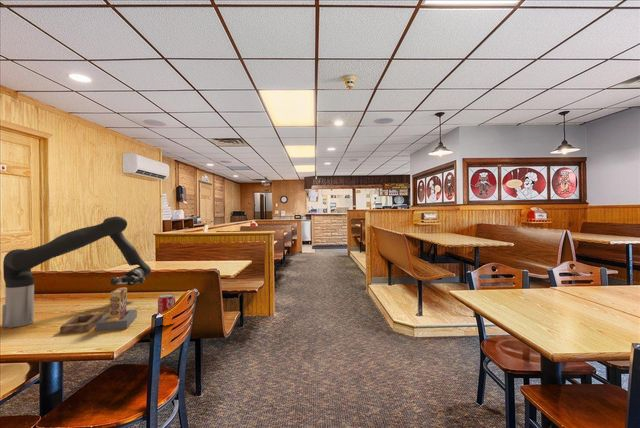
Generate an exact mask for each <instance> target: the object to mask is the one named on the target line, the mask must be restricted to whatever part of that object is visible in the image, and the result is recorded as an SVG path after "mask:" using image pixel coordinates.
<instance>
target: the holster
mask: <svg viewBox="0 0 640 428" xmlns="http://www.w3.org/2000/svg"><path fill="white" fill-rule="evenodd" d="M102 317H103V313H93V314H92V313H91V314H78V315H75V316H74V317H72V318H70V319H69V320H68V321H66V322H65V323H64V324H62V325H60V327H59V334H60V335H63V334H76V333H87V332H88V333H89V332H90V331H92V329H93V328H94V327H96V323H97V322H98V321H99V320H100V319H101V318H102Z"/></svg>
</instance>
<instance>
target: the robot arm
mask: <svg viewBox="0 0 640 428" xmlns="http://www.w3.org/2000/svg"><path fill="white" fill-rule="evenodd" d="M127 226H128V221H127V219H125V218H124V217H122V216H117V215H116V216H110V217H107V218H105V219H104V220H103V221H102V222H101V223H99V224H96V225H91V226H90V225H89V226H86V227H81V228H77V229H75V230H71V231H69V232H66V233H65V232H64V234H61V235H59V236H57V237H55V238H53V239H52V240H50V241H49V242H47V243H44V244H41V245H40V246H35V247H31V248H28V249H21V248H16V249H11V250H10V251H8V252H7V253H6V254H5V255H4V258H3V263H2V270H3V271H2V272H3V281H4V283H5V286H4V287H5V289H4V291H5V292H4V294H5V296H4V297H5V298H4V300H5V301H4V304H3V305H2V309H1V310H2V311H1V312H2V313H1V328H10V329H11V328H18V327H23V326H27V325H31V324H33V323H34V321H35V320H34V318H35V314H34V313H35V312H34V311H35V310H34V309H35V278H34V276H33V275H32V269H33V268H35V267H38V266H39V265H41V264H43V263H45V262H47V261H50V260H51V259H52V260H53V259H55V258H56V257H57V258H58V257H59V256H63V255H66V254H68V253H70V252H73V251H76V250H78V249H82V248H84V247H86V246H88V245H90V244H93V243H95V242H96V241H99V240H101V239H104V238H106V237H109V238H110V239H111V240H112V242H113V243H114V244H115V245H116V247H117V248H118V249H119V251H120V253H121V254H122V257H123V258H124V260H125V261H126V263H127V264H128V266H130V267H131V266H133V267H134V266H137V267H134V268H132V269H131V270H129V271H127V272H125V274H124V275H123V276H119V277H117V276H114V277H112V278H111V279H110V285H113V286H116V285H127V286H133V285H134V286H135V285H136V284H139V283H140V284H143V283H144V282H145V277H148V276H149V275H151V273H152V269H151V267H150V266H149V265H148V264H147V262H145V261H144V260H143V259H142V258H141V255H140V254H139V253H138V251H137V249H136V248H135V246H134V245H133V244H132V243H131V242H130V241H129V240H128V239H127V238H126V237H125V235H124V234H123V231H125V230H126V228H127Z"/></svg>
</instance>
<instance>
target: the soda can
mask: <svg viewBox="0 0 640 428" xmlns="http://www.w3.org/2000/svg"><path fill="white" fill-rule="evenodd" d="M174 304H175V305H176V296H175V294H174V293H164V294H159V296H158V298H157V314H158V313H162V312H164V311H166V310H168V309H169V308H171V307H172V306H173V305H174Z"/></svg>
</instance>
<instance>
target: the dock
mask: <svg viewBox="0 0 640 428" xmlns="http://www.w3.org/2000/svg"><path fill="white" fill-rule="evenodd" d="M109 315H110V310H109V311H108V312H107V313H106V314H105V315H103V316H102V318H101V319H100V320H99V321H98V322H97V323H96V326H95V332H104V331H105V332H106V331H116V330H117V331H118V330H124V329H126V330H127V329H128V328H129V327H130V326H131V324H133V322H134V321H135V320H136V319H137V318H138V309H137V308H136V309H126V316H125V317H124V318H123V319H119V318H110V319H109Z"/></svg>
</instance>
